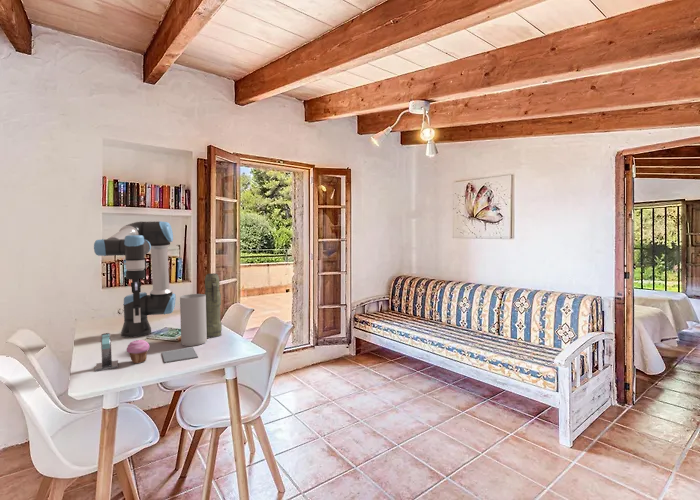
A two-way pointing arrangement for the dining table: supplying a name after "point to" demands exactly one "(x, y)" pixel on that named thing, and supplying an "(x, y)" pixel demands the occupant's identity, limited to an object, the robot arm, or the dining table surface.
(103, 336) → the bar
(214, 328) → the thermos
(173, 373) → the dining table surface
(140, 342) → the cupcake
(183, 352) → the rubber mat
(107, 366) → the post
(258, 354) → the dining table surface
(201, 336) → the cylinder vase
